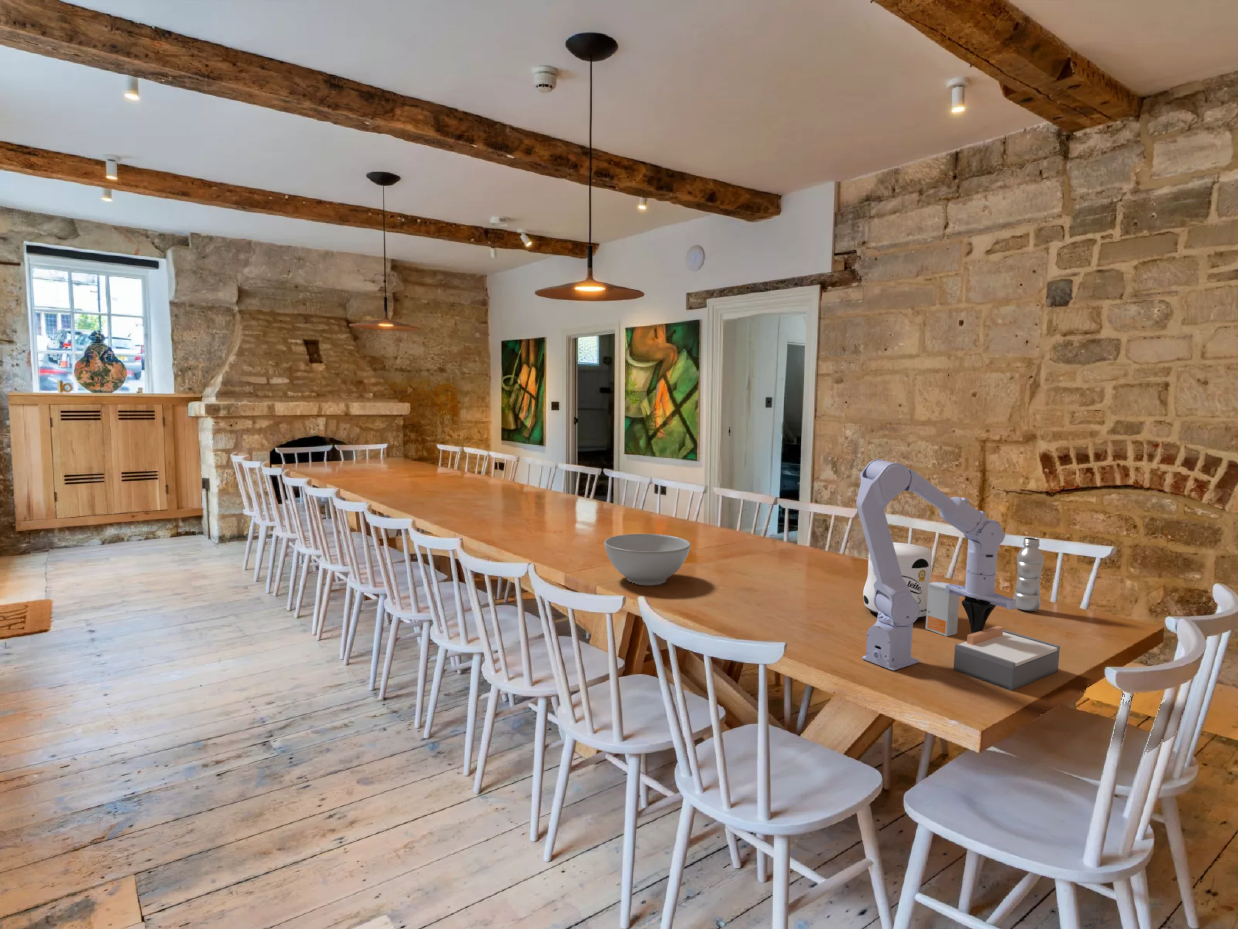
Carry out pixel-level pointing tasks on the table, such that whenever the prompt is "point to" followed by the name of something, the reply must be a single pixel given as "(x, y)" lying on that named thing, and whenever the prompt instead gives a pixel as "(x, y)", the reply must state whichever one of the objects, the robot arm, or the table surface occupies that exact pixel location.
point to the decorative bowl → (647, 556)
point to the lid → (1007, 645)
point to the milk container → (905, 575)
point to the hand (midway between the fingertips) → (976, 632)
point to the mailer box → (1004, 666)
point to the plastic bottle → (1029, 576)
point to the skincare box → (941, 610)
